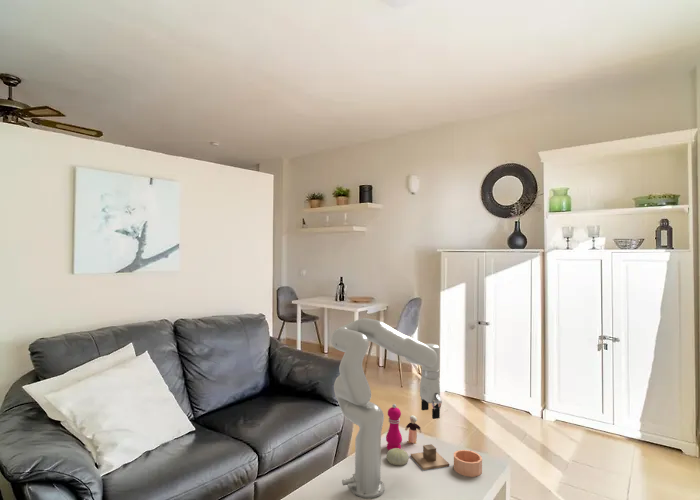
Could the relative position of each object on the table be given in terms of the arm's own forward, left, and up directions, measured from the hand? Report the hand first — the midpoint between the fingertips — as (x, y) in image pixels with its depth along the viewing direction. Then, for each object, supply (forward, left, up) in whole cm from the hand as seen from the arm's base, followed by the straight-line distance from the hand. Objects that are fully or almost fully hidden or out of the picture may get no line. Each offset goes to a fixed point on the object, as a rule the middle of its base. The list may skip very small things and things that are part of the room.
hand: (430, 414), depth 170 cm
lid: (0, 0, -20) cm, 20 cm away
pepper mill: (-10, +15, -20) cm, 27 cm away
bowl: (+12, -10, -20) cm, 25 cm away
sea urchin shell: (-13, +4, -20) cm, 25 cm away
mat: (0, 0, -20) cm, 20 cm away
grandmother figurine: (+1, +18, -20) cm, 27 cm away
